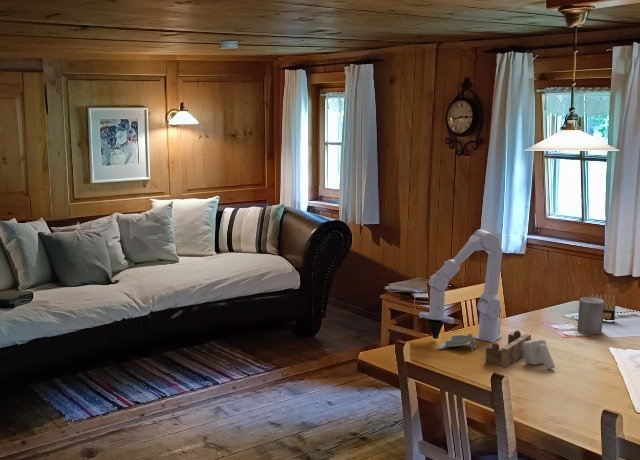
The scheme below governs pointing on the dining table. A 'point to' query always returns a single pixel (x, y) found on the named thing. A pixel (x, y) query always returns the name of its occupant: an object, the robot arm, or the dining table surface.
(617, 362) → the dining table surface
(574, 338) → the dining table surface
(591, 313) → the pillar candle
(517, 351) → the brown crenellated block
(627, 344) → the dining table surface
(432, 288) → the robot arm
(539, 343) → the grey chunky block
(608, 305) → the ammunition clip
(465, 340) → the metal bracket
